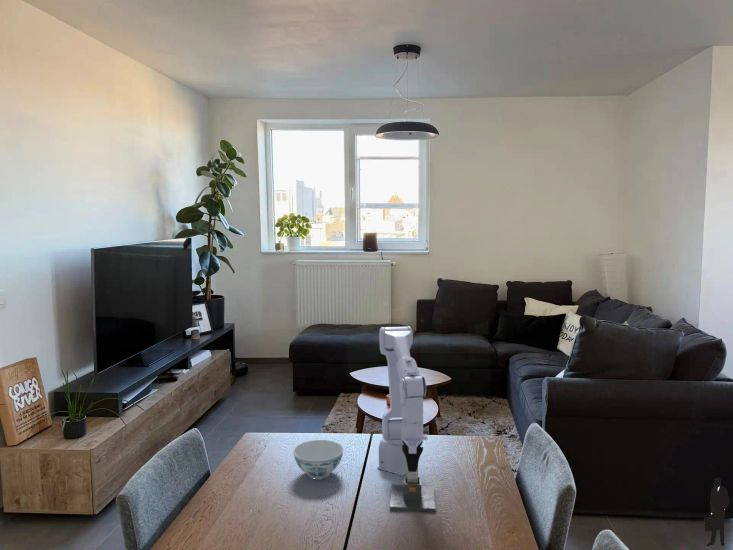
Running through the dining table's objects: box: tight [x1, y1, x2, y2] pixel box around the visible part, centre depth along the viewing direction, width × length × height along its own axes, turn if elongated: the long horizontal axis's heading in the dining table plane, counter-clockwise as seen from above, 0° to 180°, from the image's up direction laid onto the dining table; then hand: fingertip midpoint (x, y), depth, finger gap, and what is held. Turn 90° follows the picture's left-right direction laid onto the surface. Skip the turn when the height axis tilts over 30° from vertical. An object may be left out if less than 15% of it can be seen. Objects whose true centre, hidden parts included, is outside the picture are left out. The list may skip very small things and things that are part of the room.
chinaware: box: [293, 439, 344, 480], centre depth 160 cm, size 15×15×8 cm
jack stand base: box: [389, 475, 436, 513], centre depth 145 cm, size 12×12×6 cm
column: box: [406, 466, 419, 484], centre depth 144 cm, size 3×3×8 cm
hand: (412, 468), depth 144 cm, fingers closed on column, 3 cm apart
